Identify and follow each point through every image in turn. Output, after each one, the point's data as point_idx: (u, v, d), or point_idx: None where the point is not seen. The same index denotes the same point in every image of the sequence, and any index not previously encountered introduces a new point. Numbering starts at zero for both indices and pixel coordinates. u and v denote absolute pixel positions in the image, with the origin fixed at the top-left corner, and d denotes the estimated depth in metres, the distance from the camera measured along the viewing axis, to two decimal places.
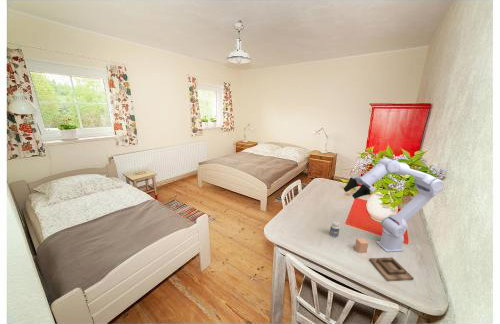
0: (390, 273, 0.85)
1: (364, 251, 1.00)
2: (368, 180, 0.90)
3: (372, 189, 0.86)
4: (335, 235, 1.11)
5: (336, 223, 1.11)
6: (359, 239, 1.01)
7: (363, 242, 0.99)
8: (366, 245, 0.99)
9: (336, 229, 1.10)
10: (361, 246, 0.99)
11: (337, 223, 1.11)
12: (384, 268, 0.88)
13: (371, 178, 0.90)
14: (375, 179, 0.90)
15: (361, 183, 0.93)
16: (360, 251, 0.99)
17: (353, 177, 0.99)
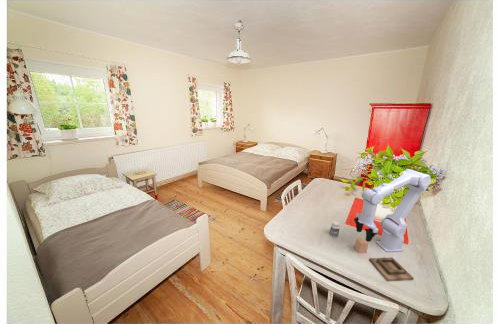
0: (390, 273, 0.85)
1: (364, 251, 1.00)
2: (368, 221, 0.94)
3: (375, 231, 0.90)
4: (335, 235, 1.11)
5: (336, 223, 1.11)
6: (359, 239, 1.01)
7: (363, 242, 0.99)
8: (366, 245, 0.99)
9: (336, 229, 1.10)
10: (361, 246, 0.99)
11: (337, 223, 1.11)
12: (384, 268, 0.88)
13: (368, 218, 0.94)
14: (372, 216, 0.93)
15: None
16: (360, 251, 0.99)
17: (356, 215, 1.03)
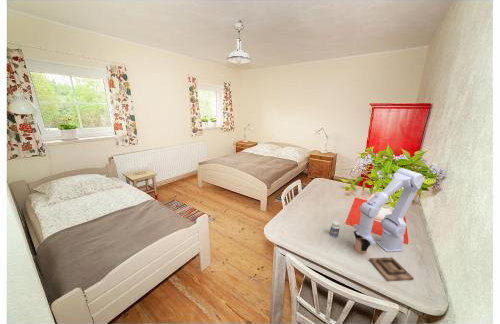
0: (390, 273, 0.85)
1: (364, 251, 1.00)
2: (365, 233, 0.96)
3: (372, 244, 0.92)
4: (335, 235, 1.11)
5: (336, 223, 1.11)
6: (359, 239, 1.01)
7: None
8: None
9: (336, 229, 1.10)
10: (361, 246, 0.99)
11: (337, 223, 1.11)
12: (384, 268, 0.88)
13: (365, 230, 0.95)
14: (369, 229, 0.95)
15: None
16: (360, 251, 0.99)
17: (354, 227, 1.05)
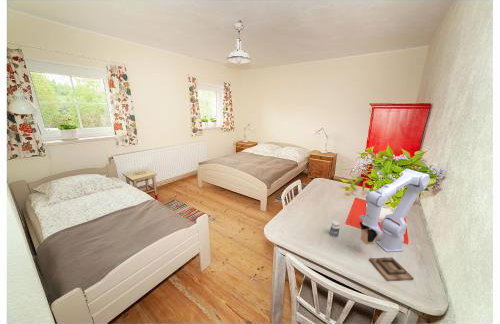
0: (390, 273, 0.85)
1: (370, 242, 0.96)
2: (372, 223, 0.92)
3: (380, 234, 0.89)
4: (335, 235, 1.11)
5: (336, 223, 1.11)
6: (365, 230, 0.97)
7: None
8: None
9: (336, 229, 1.10)
10: None
11: (337, 223, 1.11)
12: (384, 268, 0.88)
13: (372, 220, 0.92)
14: (376, 219, 0.91)
15: None
16: (366, 242, 0.96)
17: (360, 217, 1.02)
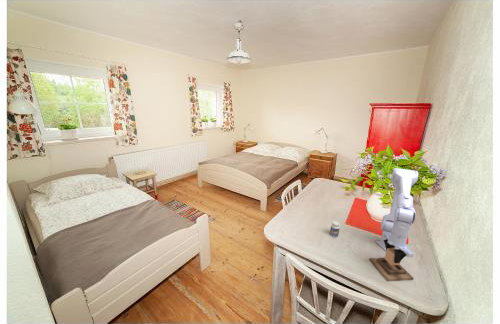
0: (390, 273, 0.85)
1: (397, 263, 0.86)
2: (400, 243, 0.83)
3: (410, 255, 0.79)
4: (335, 235, 1.11)
5: (336, 223, 1.11)
6: (391, 249, 0.88)
7: None
8: None
9: (336, 229, 1.10)
10: (394, 257, 0.85)
11: (337, 223, 1.11)
12: (384, 268, 0.88)
13: (400, 240, 0.82)
14: (405, 238, 0.82)
15: None
16: (392, 263, 0.86)
17: (383, 234, 0.92)
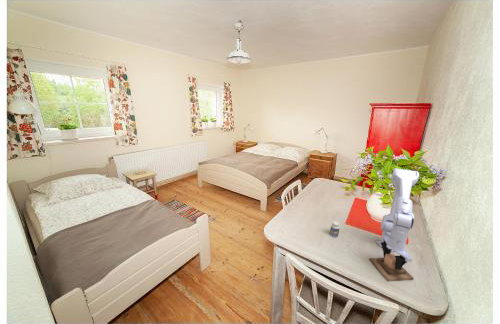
0: (390, 273, 0.85)
1: (395, 269, 0.87)
2: (398, 247, 0.83)
3: (409, 260, 0.79)
4: (335, 235, 1.11)
5: (336, 223, 1.11)
6: (389, 255, 0.89)
7: (394, 258, 0.87)
8: None
9: (336, 229, 1.10)
10: (393, 263, 0.86)
11: (337, 223, 1.11)
12: (384, 268, 0.88)
13: (399, 244, 0.83)
14: (403, 243, 0.82)
15: None
16: (391, 269, 0.87)
17: (382, 238, 0.93)
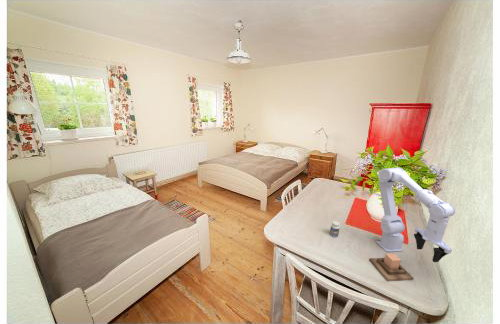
0: (390, 273, 0.85)
1: (395, 269, 0.87)
2: (436, 239, 0.81)
3: (448, 251, 0.77)
4: (335, 235, 1.11)
5: (336, 223, 1.11)
6: (389, 255, 0.89)
7: (394, 258, 0.87)
8: (398, 262, 0.86)
9: (336, 229, 1.10)
10: (393, 263, 0.86)
11: (337, 223, 1.11)
12: (384, 268, 0.88)
13: (437, 235, 0.81)
14: (442, 233, 0.80)
15: None
16: (391, 269, 0.87)
17: (416, 230, 0.90)
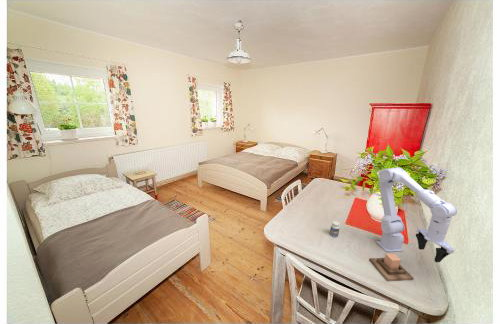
0: (390, 273, 0.85)
1: (395, 269, 0.87)
2: (438, 239, 0.81)
3: (451, 251, 0.77)
4: (335, 235, 1.11)
5: (336, 223, 1.11)
6: (389, 255, 0.89)
7: (394, 258, 0.87)
8: (398, 262, 0.86)
9: (336, 229, 1.10)
10: (393, 263, 0.86)
11: (337, 223, 1.11)
12: (384, 268, 0.88)
13: (439, 236, 0.81)
14: (444, 234, 0.80)
15: None
16: (391, 269, 0.87)
17: (418, 230, 0.90)
